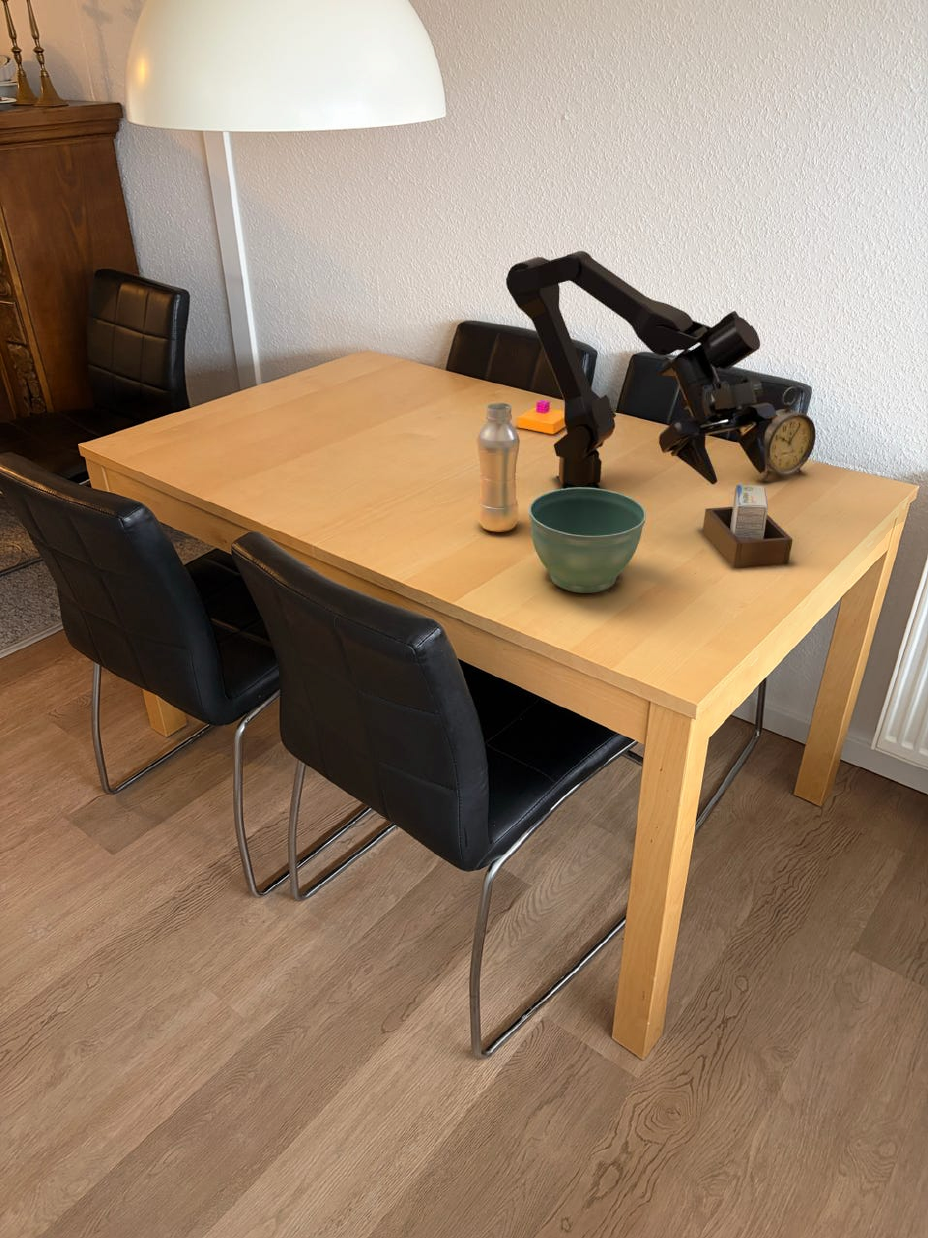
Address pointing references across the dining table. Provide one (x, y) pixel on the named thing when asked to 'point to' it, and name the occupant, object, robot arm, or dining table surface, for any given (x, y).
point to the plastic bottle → (498, 470)
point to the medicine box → (749, 512)
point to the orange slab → (542, 418)
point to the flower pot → (585, 536)
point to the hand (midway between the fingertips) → (739, 477)
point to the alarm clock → (788, 441)
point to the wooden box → (749, 551)
